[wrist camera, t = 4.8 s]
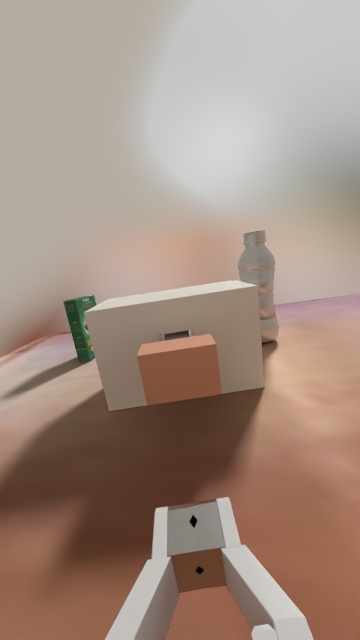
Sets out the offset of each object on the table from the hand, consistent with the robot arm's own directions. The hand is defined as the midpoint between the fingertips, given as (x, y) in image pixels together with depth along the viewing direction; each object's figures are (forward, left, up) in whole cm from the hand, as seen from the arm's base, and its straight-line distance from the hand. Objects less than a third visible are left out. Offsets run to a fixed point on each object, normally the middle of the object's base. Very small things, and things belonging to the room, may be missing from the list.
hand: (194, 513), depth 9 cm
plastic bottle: (+19, -33, -7) cm, 39 cm away
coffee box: (+45, -8, -7) cm, 46 cm away
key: (+14, -9, -2) cm, 17 cm away
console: (+19, -13, -7) cm, 25 cm away
